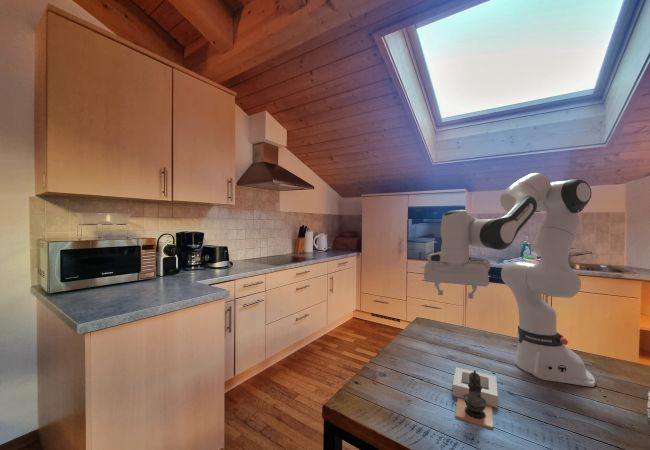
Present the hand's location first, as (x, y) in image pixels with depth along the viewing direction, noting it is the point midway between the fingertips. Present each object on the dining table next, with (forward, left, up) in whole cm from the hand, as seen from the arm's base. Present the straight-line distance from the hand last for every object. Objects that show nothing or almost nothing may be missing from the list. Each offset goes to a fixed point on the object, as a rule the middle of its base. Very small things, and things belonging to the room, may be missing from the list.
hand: (455, 296), depth 94 cm
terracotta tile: (-6, +16, -29) cm, 33 cm away
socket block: (-6, +4, -29) cm, 30 cm away
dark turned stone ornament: (-6, +16, -28) cm, 33 cm away
